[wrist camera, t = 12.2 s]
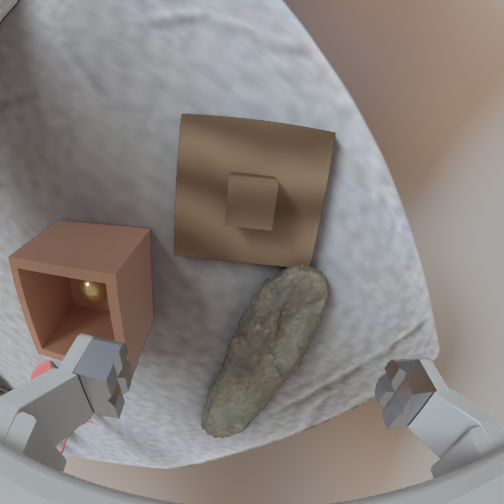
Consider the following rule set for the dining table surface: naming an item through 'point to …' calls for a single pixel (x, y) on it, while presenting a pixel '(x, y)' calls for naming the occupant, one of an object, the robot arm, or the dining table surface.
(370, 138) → the dining table surface
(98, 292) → the brass ball
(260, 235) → the walnut lid
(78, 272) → the terracotta box
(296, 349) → the long grey stone
